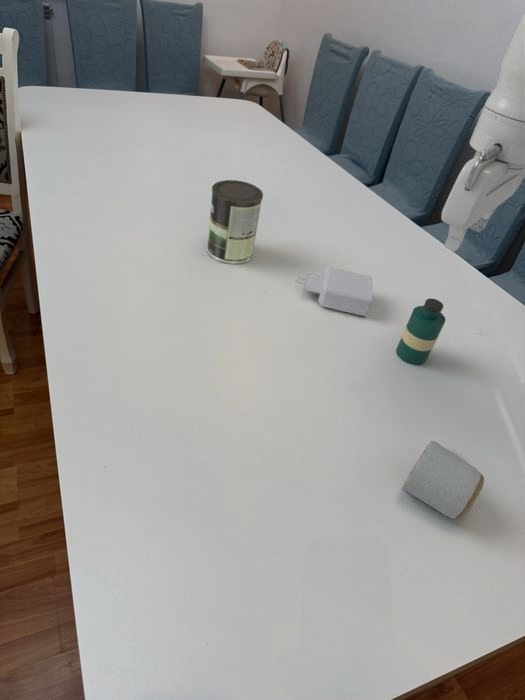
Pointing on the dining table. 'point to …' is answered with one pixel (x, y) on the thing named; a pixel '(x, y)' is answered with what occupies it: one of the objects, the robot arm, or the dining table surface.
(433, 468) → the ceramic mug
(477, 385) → the dining table surface
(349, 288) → the charger
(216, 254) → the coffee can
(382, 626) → the dining table surface
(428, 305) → the bottle
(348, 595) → the dining table surface
